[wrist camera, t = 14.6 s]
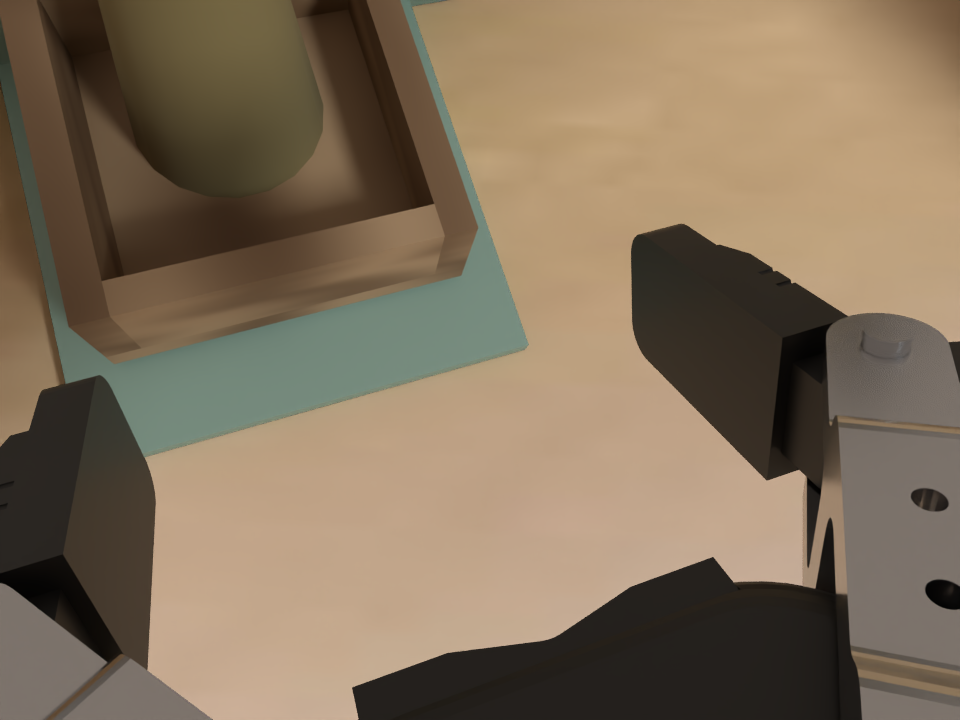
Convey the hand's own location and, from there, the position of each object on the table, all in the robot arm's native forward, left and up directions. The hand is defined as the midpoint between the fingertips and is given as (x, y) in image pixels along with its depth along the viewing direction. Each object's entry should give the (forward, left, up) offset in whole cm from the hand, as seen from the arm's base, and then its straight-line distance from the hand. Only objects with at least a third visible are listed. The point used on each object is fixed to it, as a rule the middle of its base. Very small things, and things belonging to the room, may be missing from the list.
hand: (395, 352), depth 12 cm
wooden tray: (-2, -10, -13) cm, 17 cm away
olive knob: (-2, -12, -12) cm, 17 cm away
